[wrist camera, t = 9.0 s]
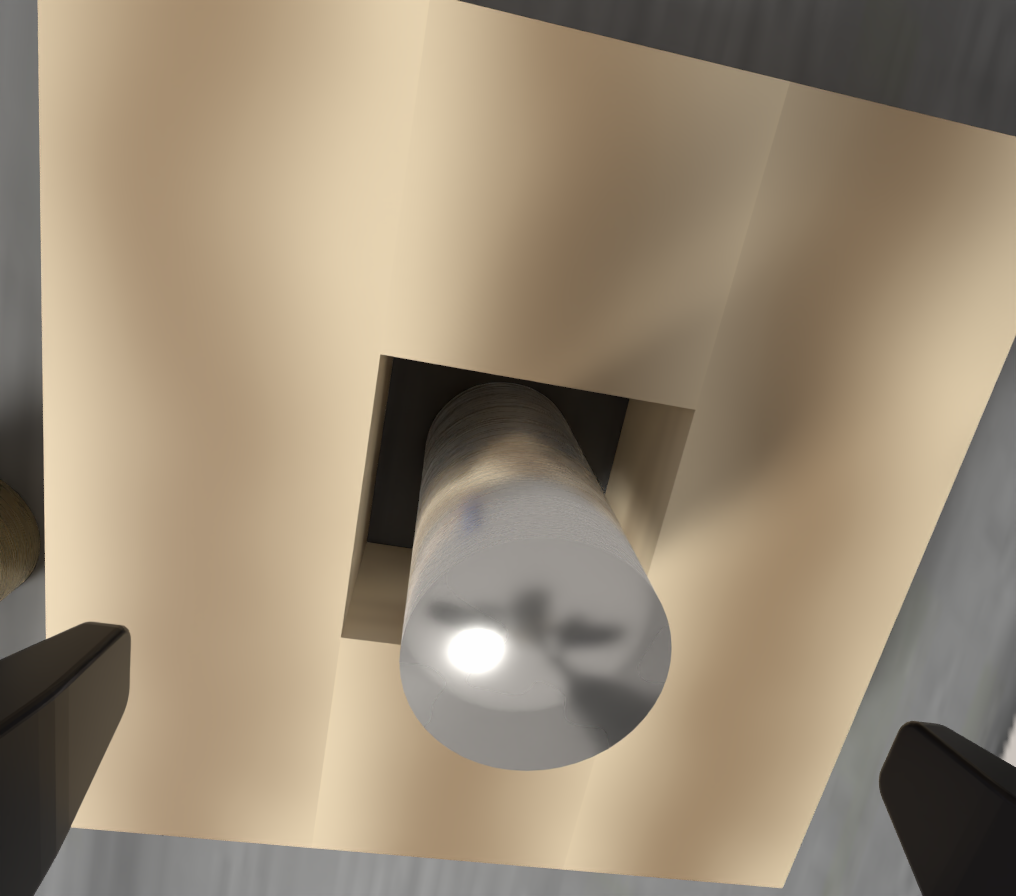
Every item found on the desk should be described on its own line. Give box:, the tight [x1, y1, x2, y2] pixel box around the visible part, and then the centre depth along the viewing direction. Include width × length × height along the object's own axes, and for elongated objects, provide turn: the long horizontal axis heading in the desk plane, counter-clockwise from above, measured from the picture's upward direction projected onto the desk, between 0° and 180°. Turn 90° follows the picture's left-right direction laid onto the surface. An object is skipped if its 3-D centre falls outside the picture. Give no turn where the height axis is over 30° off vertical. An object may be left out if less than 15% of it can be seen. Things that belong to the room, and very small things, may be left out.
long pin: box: [399, 382, 672, 771], centre depth 13 cm, size 4×4×8 cm
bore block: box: [38, 0, 1016, 888], centre depth 15 cm, size 16×16×4 cm
